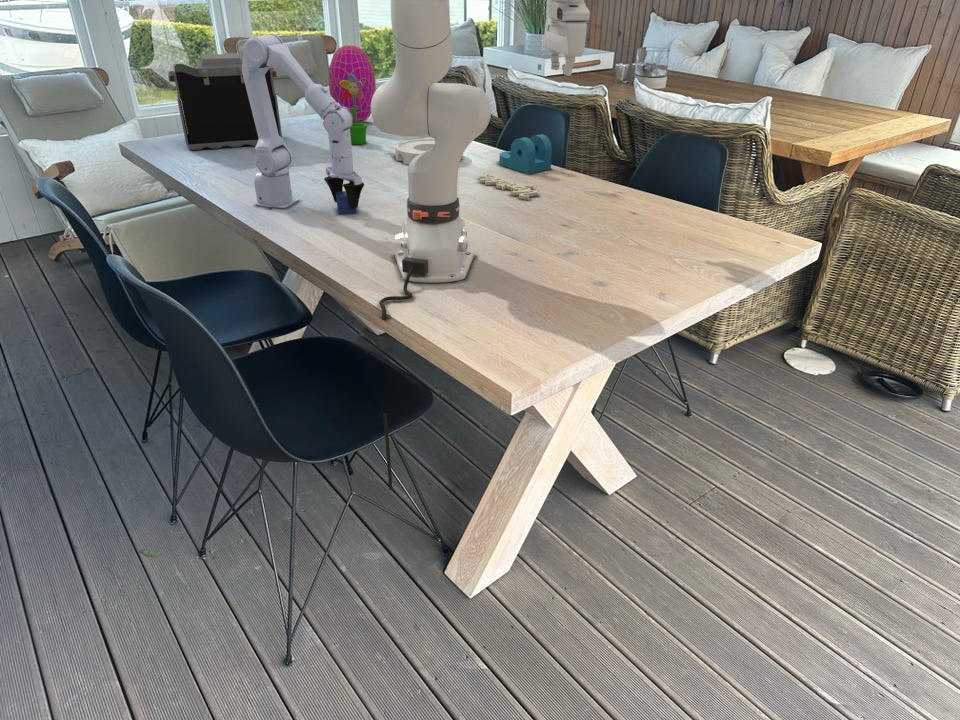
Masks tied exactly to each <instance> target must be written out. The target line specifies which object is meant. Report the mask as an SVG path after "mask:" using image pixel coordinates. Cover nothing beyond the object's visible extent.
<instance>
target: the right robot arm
mask: <svg viewBox="0 0 960 720" xmlns="http://www.w3.org/2000/svg"><path fill="white" fill-rule="evenodd" d="M590 15H591V12H590V10H589V8H588V7H587V5H586V2H585V0H546V13H545V17H546V20H545V24H544V33H543V34H544V35H543V45H544V48H545V49H547V50H549V57H550V69H551V70H553V71H559V70H560V65H561V64H560V58H559V57H560V56H559V55H563V56H564V61H565V62H564V66H563V67H562V68H563V69H562V74H563V75H564V76H567V77H568V76H569V77H570V76H572V74H573V67H574V65H575V62H576V58H579V57H580V58H581V57H582V56H583V54H584V52H585V47H586V39H587V32H588V31H587V30H588V25H587V22H588V21H590ZM390 21H391V31H392V36H393V37H392V38H393V43H394V44H393V45H394V54H395V67H394V70H393V73H392V74H391V76H390V77H389V78H388V79H387V80H386V82H384V83H382V84H381V85H379V86H378V87H377V88H376V91H375V93H374V95H373V97H372V100H371V114H370V116H371V119H372V121H373V124H374V125H375V126H376V128H377V129H378V130H379V131H380V132H383V133H385V134H389V135H393V136H398V137H413V138H430V139H435V145H434V147H433V148H431V149H430V150H428V151H425V152H423V153H421V154H419V155H418V156H416V157H415V158H414V159H412V161H411V162H410V164H409V165H408V168H407V184H408V186H407V187H408V198H407V199H406V211H407V213H406V214H407V217H406V218H405V219H404V220H403V221H402V223H401V231H402V232H400V233H398V234H396V235H395V239H396V240H398V239H401V238H402V242H401V244H400V247H401V249H400V250H397V251H395V252H394V259H395V262H396V264H397V267H398V269H399V272H400V274H401V277H402V279H403V280H404V283H403V289H402V290H403V292H404V294H406V295H401V296H400V295H393V296H385V297H383V298H382V299H380V300H379V301H378V304H379V307H380V308H381V320H382V321H385V320H387V308H386V306H385V304H384V303H385V302H387V301H406V300H410V299H411V298H412V297H413V293H412V292H411V291H409V290H408V285H409V282H414V283H431V284H433V283H435V284H437V283H451V282H457V281H461V280H464V279H466V277H467V274H468V273H469V269H470V267H471V265H472V262H473V260H474V257H475V251H473V250H471V249H468V245H469V243H468V242H467V241H466V238H467V236H468V232H467V231H466V221H465V220H464V219H463V218H461V216H460V208H461V207H460V206H461V205H460V198H459V197H458V178H459V177H458V176H459V167H460V163H461V160H462V157H463V155H464V153H465V151H466V149H468V147H469V146H470V144H472V143H473V141H474V140H476V139H477V138H478V137H479V136H481V135H482V134H483V133H484V132H485V130H486V129H487V128H488V125H489V123H490V121H491V117H492V105H491V101H490V98H489V97H488V95H487V93H486V92H485V90H484V89H482V88H481V87H479V86H478V87H477V86H474V85H469V84H466V83H456V82H455V83H453V82H451V83H450V82H440V81H441V80H442V79H444V78H445V76H446V75H447V74H448V73H449V71H450V70H451V67H452V65H453V61H454V59H453V58H454V55H453V42H452V28H451V18H450V11H449V6H448V1H447V0H390ZM382 417H383V430H384V442H385V453H386V466H387V477H388V490H389V491H392V490H393V477H392V462H391V450H390V449H391V448H390V436H389V425H388V413H386V412H385V413H382Z"/></svg>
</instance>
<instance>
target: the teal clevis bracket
mask: <svg viewBox="0 0 960 720" xmlns="http://www.w3.org/2000/svg"><path fill="white" fill-rule="evenodd" d="M552 146H553V145H552V142H551V140H550V139H549V137H548V136H547V135H546V134H542V133H541V134H535V135H532V136H531V137H530V138H529V137H525V136H524V137H520V138H515V139H514V140H513V141H512V143H511V145H510V150H506V151H502V152H500V153H499V156H498V157H499V159H498V161H499V165H500V166H503V167H506V168H509V169H511V170H515V171H518V172H520V173H524V174H527V175H529V174H534V173H538V172H539V173H540V172H544V171H548V170H551V169H552V156H553V147H552Z"/></svg>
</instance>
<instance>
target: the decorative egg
mask: <svg viewBox="0 0 960 720" xmlns="http://www.w3.org/2000/svg"><path fill="white" fill-rule="evenodd" d="M348 73H350V74H352V75H354V76H355V78H356V83H357V82H358V81H361V82H362V84H363V89H361V90H360V91H361V92H362V93H363V98H362V100H359V99H358V98H357V97H356V95H355V103H356V106H359V109H358V110H356V116H357V123H364V122H365V121H366V120H368V118H369V117H370V116H371V100H372V97H373V95H374V93H375V91H376V90H377V83H376V82H377V81H376V75H375V71H374V68H373V63H372V62H371V60H370V57H369V56H368V54H367V53H366V51H365V50H363V48H361V47H359V46H357V45H353V44H352V45H351V44H348V45H343V46H340V47H338V48H337V49H336V51H334V53H333V56H332V57H331V61H330V63H329V69H328V91H329V94H330V95H331V96H332V98H333V99H334V100H335V101H336V102H337V103H339V104H340V105H341V106H342V107H346V108H348V109H349V110H354V100H353V95H352V96H351V97H350V98H348V99H341V97H342V94H343V93H344V91H345V90H347V89H346V88H343V87H342V86H341V85H340V84H339V83H340V82H341V81H342V80H346V81H349V78H348ZM352 117H353V123H355V115H352Z"/></svg>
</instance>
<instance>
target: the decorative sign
mask: <svg viewBox="0 0 960 720" xmlns="http://www.w3.org/2000/svg"><path fill="white" fill-rule="evenodd" d="M479 183H480V184H485V186H495V187H496V189H501V190H503V191H504V190H510V196H515V197H516V196H518V199H521V200H526V201H527V200H530V197H537V196H538V193H539V191H538V190H535V189H534V185H533V184H519V183H515V182H513V181H510V180H508V179H504V178H501V177H500V176H497V175H493V174H491V173H485V174H484V175H482V174H479Z"/></svg>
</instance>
